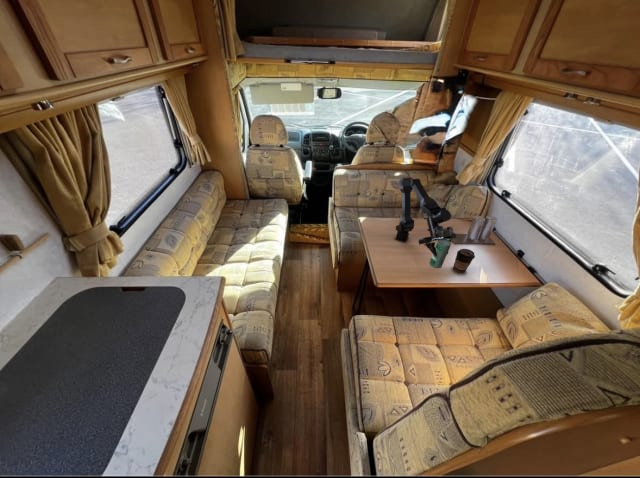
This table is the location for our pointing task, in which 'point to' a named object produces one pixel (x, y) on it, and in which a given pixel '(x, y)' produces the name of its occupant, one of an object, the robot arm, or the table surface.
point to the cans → (485, 228)
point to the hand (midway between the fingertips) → (441, 255)
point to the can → (440, 253)
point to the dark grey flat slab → (462, 240)
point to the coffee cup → (463, 260)
